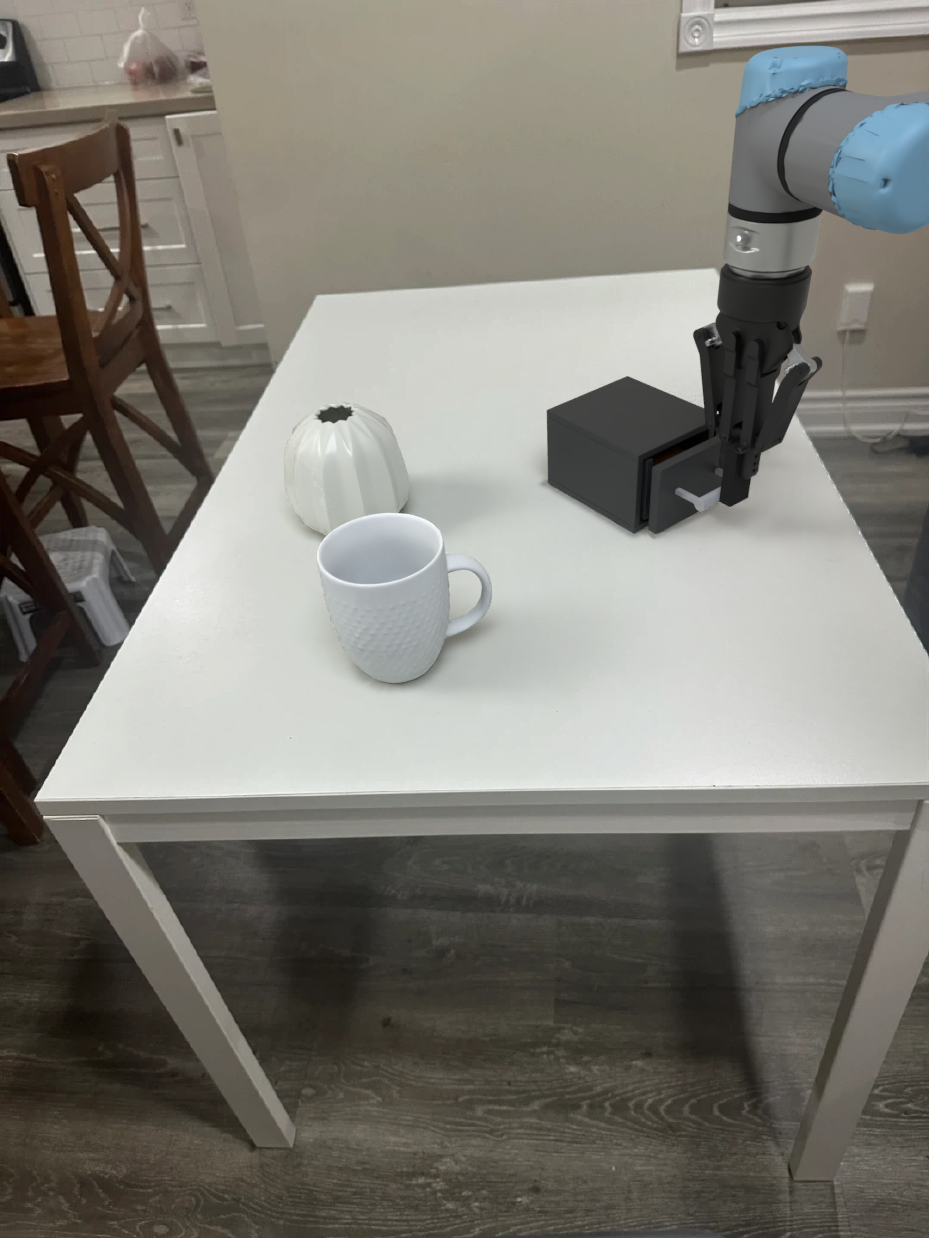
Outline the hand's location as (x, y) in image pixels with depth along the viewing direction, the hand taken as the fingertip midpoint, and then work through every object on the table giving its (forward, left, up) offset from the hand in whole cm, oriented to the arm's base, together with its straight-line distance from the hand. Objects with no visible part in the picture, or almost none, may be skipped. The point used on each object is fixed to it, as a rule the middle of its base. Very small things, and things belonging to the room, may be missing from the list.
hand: (733, 499), depth 89 cm
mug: (+14, +34, -5) cm, 37 cm away
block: (+10, -2, -3) cm, 11 cm away
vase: (+37, +21, -5) cm, 43 cm away
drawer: (+9, -2, -4) cm, 10 cm away
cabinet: (+15, -3, -5) cm, 16 cm away
